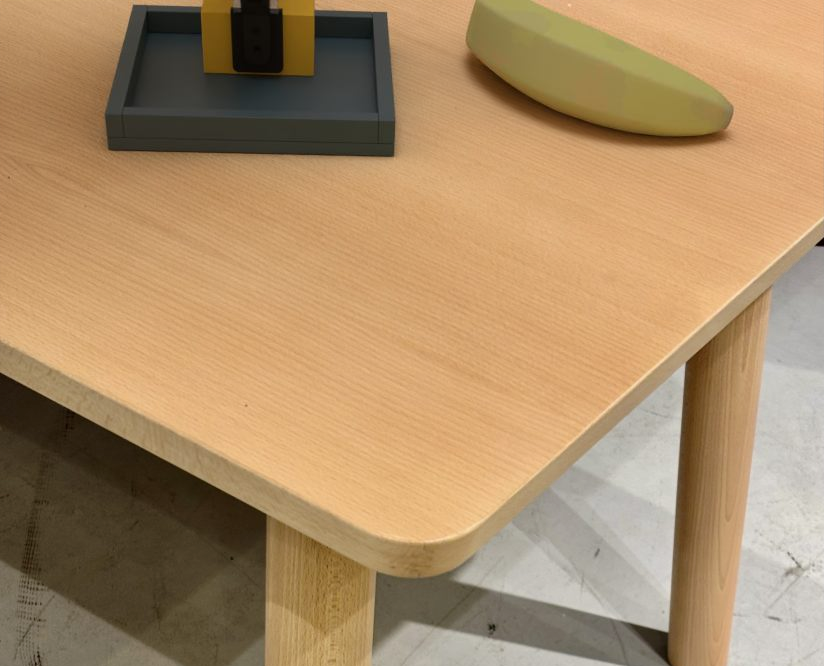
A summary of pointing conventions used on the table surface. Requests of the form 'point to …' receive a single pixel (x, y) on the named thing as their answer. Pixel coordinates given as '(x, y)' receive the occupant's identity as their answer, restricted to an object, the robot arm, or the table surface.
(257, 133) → the tray
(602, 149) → the table surface
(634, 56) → the banana
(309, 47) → the yellow block
